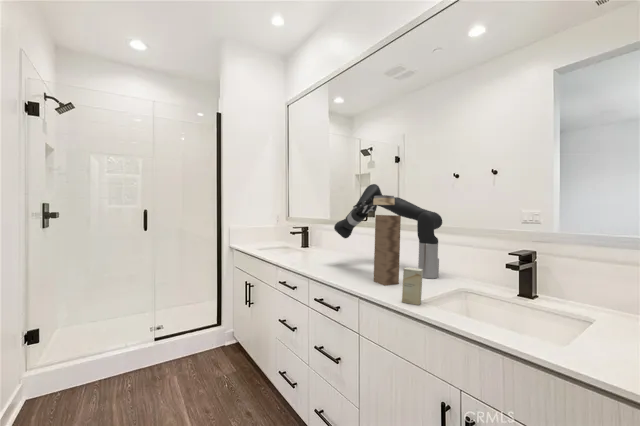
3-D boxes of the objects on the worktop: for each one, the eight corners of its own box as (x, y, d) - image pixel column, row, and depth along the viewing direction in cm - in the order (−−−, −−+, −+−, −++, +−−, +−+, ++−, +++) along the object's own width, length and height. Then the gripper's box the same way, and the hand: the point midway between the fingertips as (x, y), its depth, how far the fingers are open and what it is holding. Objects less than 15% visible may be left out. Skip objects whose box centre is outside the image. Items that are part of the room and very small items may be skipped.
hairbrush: (372, 205, 149) (373, 197, 148) (394, 204, 134) (394, 195, 134) (363, 204, 146) (363, 196, 146) (384, 204, 131) (384, 195, 131)
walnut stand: (387, 280, 139) (389, 215, 138) (398, 284, 131) (400, 215, 131) (373, 281, 135) (375, 214, 135) (384, 285, 128) (386, 215, 128)
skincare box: (401, 302, 104) (402, 268, 104) (404, 299, 108) (405, 266, 108) (420, 305, 101) (421, 270, 101) (422, 302, 105) (422, 268, 105)
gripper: (344, 209, 155) (360, 192, 141) (365, 210, 161) (383, 193, 147) (347, 222, 151) (364, 205, 138) (369, 222, 158) (387, 206, 144)
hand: (374, 199), depth 143 cm, fingers closed on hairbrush, 2 cm apart
